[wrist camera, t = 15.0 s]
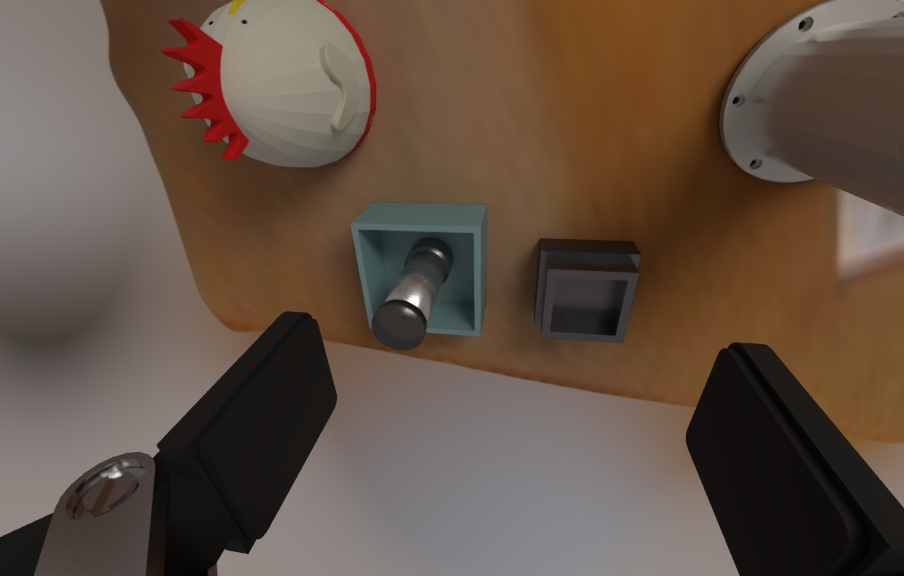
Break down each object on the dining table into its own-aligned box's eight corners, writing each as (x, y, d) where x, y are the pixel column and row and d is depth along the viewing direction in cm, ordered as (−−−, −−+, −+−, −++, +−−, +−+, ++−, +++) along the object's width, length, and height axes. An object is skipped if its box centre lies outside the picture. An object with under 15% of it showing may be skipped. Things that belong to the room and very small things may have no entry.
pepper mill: (417, 230, 41) (376, 295, 30) (459, 247, 41) (434, 318, 30) (405, 267, 43) (363, 338, 32) (444, 283, 43) (416, 360, 32)
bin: (486, 204, 38) (480, 226, 33) (485, 304, 45) (480, 336, 40) (372, 202, 40) (350, 223, 35) (386, 298, 47) (369, 328, 42)
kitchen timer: (366, -11, 31) (256, -57, 18) (384, 163, 38) (313, 216, 26) (213, -4, 33) (19, -41, 21) (257, 160, 40) (133, 207, 28)
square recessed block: (633, 241, 38) (648, 267, 33) (617, 316, 43) (628, 348, 38) (540, 238, 39) (541, 262, 35) (533, 311, 44) (534, 341, 39)
